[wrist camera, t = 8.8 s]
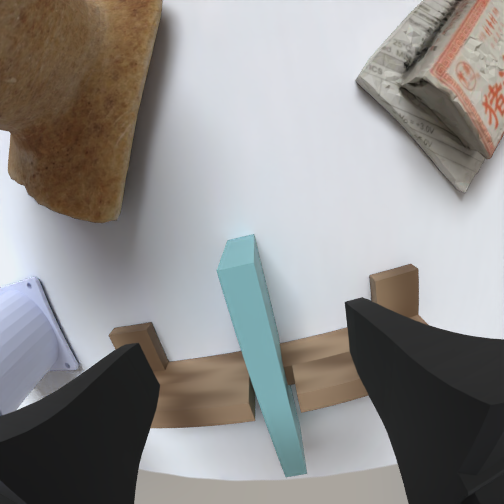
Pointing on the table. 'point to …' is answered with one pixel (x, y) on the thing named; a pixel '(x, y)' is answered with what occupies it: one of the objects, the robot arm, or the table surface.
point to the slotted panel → (261, 348)
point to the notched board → (293, 359)
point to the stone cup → (74, 97)
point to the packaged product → (445, 82)
